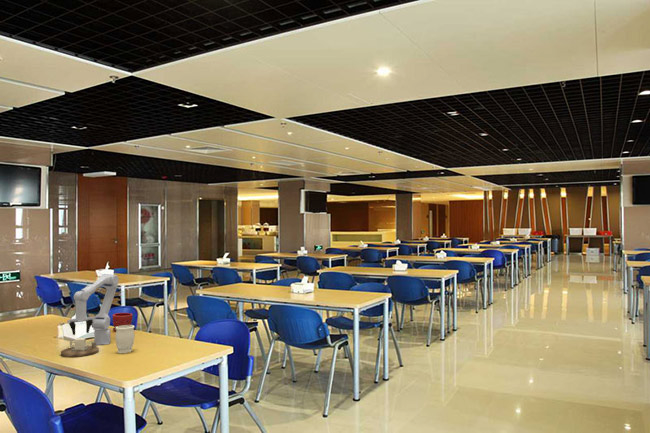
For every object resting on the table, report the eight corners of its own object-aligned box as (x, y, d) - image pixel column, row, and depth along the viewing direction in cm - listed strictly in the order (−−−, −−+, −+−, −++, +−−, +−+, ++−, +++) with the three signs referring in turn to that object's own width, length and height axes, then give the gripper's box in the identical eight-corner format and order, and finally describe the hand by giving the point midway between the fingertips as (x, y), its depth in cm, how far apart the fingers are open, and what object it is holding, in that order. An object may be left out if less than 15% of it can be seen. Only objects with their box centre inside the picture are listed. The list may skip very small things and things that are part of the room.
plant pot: (114, 333, 339) (114, 316, 339) (111, 330, 350) (111, 313, 350) (134, 331, 346) (134, 314, 346) (130, 328, 357) (130, 311, 357)
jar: (138, 350, 292) (138, 325, 292) (125, 354, 282) (126, 328, 282) (123, 349, 295) (124, 324, 296) (111, 353, 286) (111, 327, 286)
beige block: (85, 348, 289) (85, 337, 290) (84, 350, 285) (84, 339, 285) (71, 349, 287) (71, 338, 287) (69, 351, 282) (69, 340, 282)
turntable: (101, 347, 299) (101, 339, 299) (95, 355, 280) (96, 347, 280) (64, 349, 293) (65, 342, 293) (57, 358, 274) (57, 350, 274)
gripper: (91, 309, 302) (91, 330, 302) (65, 311, 292) (65, 334, 292) (95, 310, 297) (95, 332, 297) (69, 313, 287) (69, 336, 287)
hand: (80, 333), depth 294 cm, fingers open, 7 cm apart
